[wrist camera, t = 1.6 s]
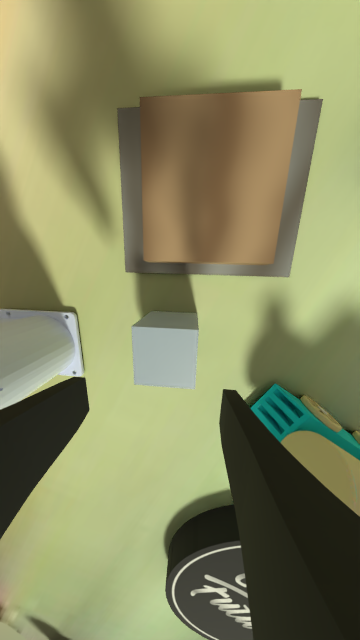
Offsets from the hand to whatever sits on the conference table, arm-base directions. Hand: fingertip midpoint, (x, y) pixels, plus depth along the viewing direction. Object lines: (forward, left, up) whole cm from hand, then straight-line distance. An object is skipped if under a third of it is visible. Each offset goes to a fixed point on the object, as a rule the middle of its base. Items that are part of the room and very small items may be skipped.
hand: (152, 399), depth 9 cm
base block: (+3, +13, -10) cm, 17 cm away
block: (0, 0, -11) cm, 11 cm away
